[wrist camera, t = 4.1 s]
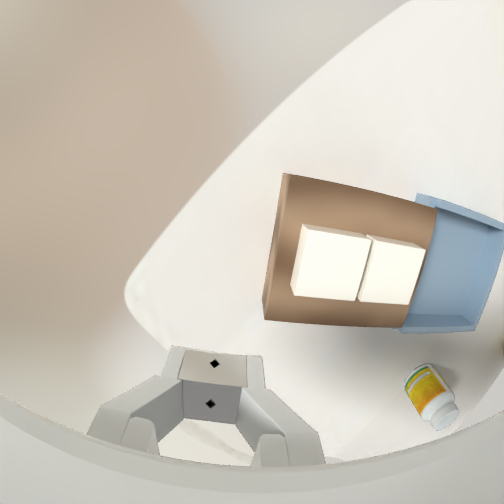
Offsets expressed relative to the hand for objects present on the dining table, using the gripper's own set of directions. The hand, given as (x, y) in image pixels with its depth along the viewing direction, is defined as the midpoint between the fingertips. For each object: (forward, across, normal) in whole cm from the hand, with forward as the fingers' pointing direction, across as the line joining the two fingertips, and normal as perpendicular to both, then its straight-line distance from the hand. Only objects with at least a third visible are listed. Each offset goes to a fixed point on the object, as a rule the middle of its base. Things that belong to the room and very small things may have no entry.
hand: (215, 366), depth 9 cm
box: (+17, -24, 0) cm, 30 cm away
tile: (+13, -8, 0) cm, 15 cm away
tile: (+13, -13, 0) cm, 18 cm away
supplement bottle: (+17, -28, +17) cm, 37 cm away
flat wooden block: (+17, -10, 0) cm, 20 cm away
